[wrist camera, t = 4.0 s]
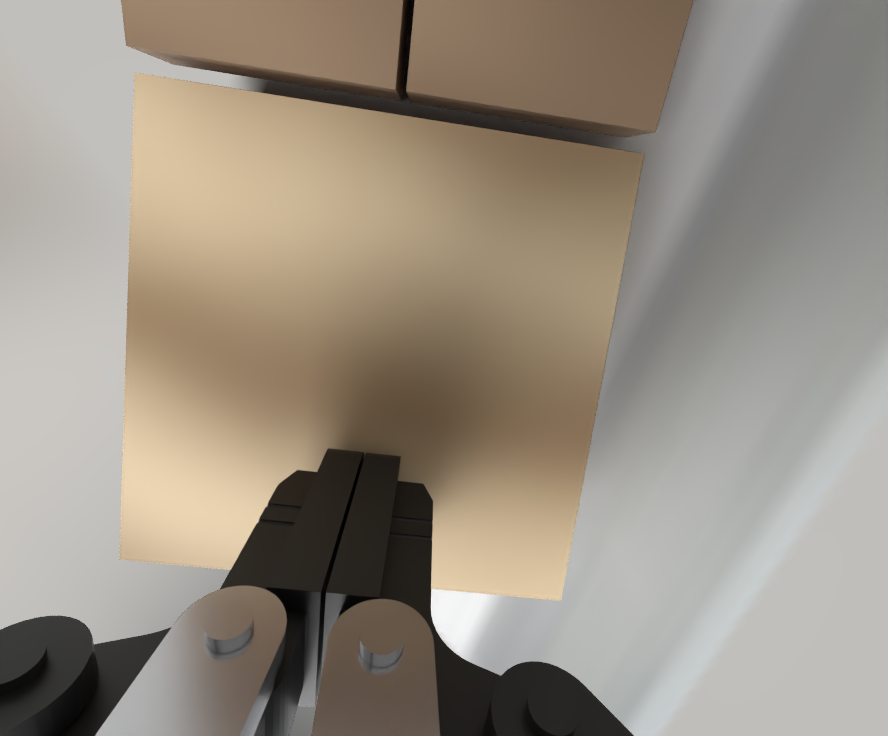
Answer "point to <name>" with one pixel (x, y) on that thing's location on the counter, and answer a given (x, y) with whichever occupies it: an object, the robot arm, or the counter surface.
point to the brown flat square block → (440, 52)
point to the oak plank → (364, 322)
